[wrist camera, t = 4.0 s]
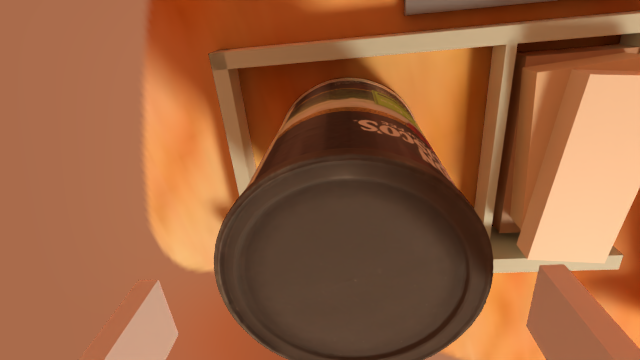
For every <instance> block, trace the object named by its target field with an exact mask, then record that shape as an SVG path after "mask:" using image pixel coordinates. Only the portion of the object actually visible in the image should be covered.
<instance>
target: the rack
mask: <svg viewBox="0 0 640 360" xmlns="http://www.w3.org/2000/svg"><path fill="white" fill-rule="evenodd" d="M619 34H622V35H621V39H620V42H619V44H614V45H602V46H591V47H579V48H568V49H556V50H544V51H533V52H521V53H516V51H517V44H518V43H529V42H540V41H552V40H563V39H574V38H585V37H597V36H608V35H619ZM484 46H493V49H492V58H491V66H490V75H489V84H488V93H487V102H486V110H485V119H484V128H483V137H482V146H481V154H480V163H479V172H478V181H477V190H476V198H475V207H474V210H475V211H476V213H477V215H478V216H479V218H480V219H481V221H482V222H483V224H484V226H485V228H486V231H487V233H488V236H489V239H490V242H491V245H492V252H493V273H509V272H538V270H539V266H540V265H557V264H564V265H565V266H566V267H567V268H568V269H569V270H570V271H578V270H613V269H619V267H620V264H621V261H622V258H623V254H622V253H620V252H619V251H618V250H617V249H616V248H615V247H614V246H613V244H614V242H615V240H616V238H617V235H618V233H619V231H620V229H621V227H622V225H623V222H624V220H625V218H626V216H627V214H628V212H629V210H630V207H631V205H632V203H633V201H634V199H635V197H636V195H637V192H638V190H639V188H640V11H629V12H618V13H608V14H597V15H587V16H576V17H565V18H555V19H544V20H534V21H523V22H512V23H502V24H491V25H481V26H470V27H459V28H449V29H438V30H427V31H417V32H406V33H396V34H385V35H374V36H364V37H353V38H343V39H332V40H321V41H311V42H300V43H290V44H279V45H268V46H258V47H247V48H237V49H226V50H218V51H215V52H212V53H209V59H210V63H211V68H212V73H213V77H214V82H215V86H216V91H217V96H218V100H219V105H220V109H221V114H222V119H223V123H224V128H225V132H226V137H227V142H228V146H229V151H230V155H231V160H232V165H233V169H234V174H235V178H236V183H237V188H238V192H239V196H240V195H241V194H242V193H243V192H244V190H245V189H246V187H247V186H248V184H249V182H250V180H251V179H252V177H253V175H254V173H255V171H256V166H255V160H254V155H253V150H252V144H251V139H250V134H249V128H248V123H247V118H246V112H245V107H244V102H243V96H242V91H241V86H240V80H239V75H238V70H237V68H247V67H258V66H270V65H281V64H292V63H303V62H315V61H326V60H337V59H349V58H360V57H371V56H382V55H394V54H405V53H416V52H428V51H439V50H450V49H461V48H473V47H484ZM492 223H493V225H494V226H492Z"/></svg>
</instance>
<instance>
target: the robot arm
mask: <svg viewBox="0 0 640 360" xmlns="http://www.w3.org/2000/svg"><path fill="white" fill-rule="evenodd" d="M526 326H527V328H528V329H529V331H530V333H531V335H532V336H533V338H534V340H535V341H536V343H537V345H538V346H539V348H540V350H541V351H542V353H543V355H544V356H545V358H546V360H640V349H639V348H638V347H637V346H636V344H635V343H634V342H633V341H632V340H631V339H630V338H629V337H628V335H627V334H626V333H625V332H624V331H623V330H622V329H621V328H620V326H619V325H618V324H617V323H616V322H615V321H614V320H613V319H612V317H611V316H610V315H609V314H608V313H607V312H606V311H605V310H604V308H603V307H602V306H601V305H600V304H599V303H598V302H597V301H596V299H595V298H594V297H593V296H592V295H591V294H590V293H589V292H588V290H587V289H586V288H585V287H584V286H583V285H582V284H581V283H580V281H579V280H578V279H577V278H576V277H575V276H574V275H573V274H572V272H571V271H570V270H569V269H568V268H567V267H566V266H565V265H564V264H557V265H540V266H539V270H538V275H537V279H536V284H535V289H534V293H533V298H532V302H531V307H530V311H529V316H528V320H527V325H526ZM177 336H178V331H177V328H176V326H175V323H174V320H173V318H172V315H171V312H170V310H169V307H168V304H167V301H166V299H165V296H164V293H163V291H162V288H161V285H160V282H159V280H138V281H137V283H136V284H135V285H134V287H133V288H132V290H131V291H130V292H129V294H128V295H127V296H126V297H125V299H124V300H123V301H122V303H121V304H120V305H119V307H118V308H117V309H116V311H115V312H114V314H113V315H112V316H111V318H110V319H109V320H108V321H107V323H106V324H105V325H104V327H103V328H102V329H101V331H100V332H99V333H98V335H97V336H96V337H95V339H94V340H93V341H92V343H91V344H90V345H89V347H88V348H87V349H86V351H85V352H84V353H83V355H82V356H81V357H80V359H79V360H166V358H167V356H168V354H169V352H170V350H171V348H172V346H173V344H174V342H175V340H176V338H177Z"/></svg>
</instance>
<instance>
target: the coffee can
mask: <svg viewBox="0 0 640 360" xmlns="http://www.w3.org/2000/svg"><path fill="white" fill-rule="evenodd" d="M214 271H215V277H216V282H217V286H218V289H219V292H220V294H221V297H222V298H223V301H224V303H225V305H226V307H227V308H228V310H229V312H230V313H231V314H232V316H233V318H234V319H235V320H236V321H237V323H238V324H239V325H240V326H241V327H242V328H243V329H244V330H245V331H246V332H247V333H248V334H249V335H250V336H251V337H253V338H254V339H255V340H256V341H257V342H259V343H260V344H261V345H263V346H264V347H266V348H267V349H269V350H270V351H272V352H274V353H276V354H277V355H279V356H281V357H284V358H286V359H288V360H424V359H426V358H428V357H431V356H432V355H434V354H436V353H438V352H439V351H441V350H443V349H444V348H446V347H447V346H448V345H450V344H451V343H452V342H454V341H455V340H456V339H458V338H459V337H460V336H461V335H462V334H463V333H464V332H465V331H466V330H467V329H468V328H469V327H470V326H471V325H472V324H473V322H474V321H475V319H476V318H477V317H478V315H479V314H480V312H481V311H482V309H483V307H484V304H485V303H486V299H487V297H488V294H489V292H490V288H491V284H492V277H493V252H492V245H491V242H490V239H489V236H488V233H487V231H486V228H485V226H484V224H483V222H482V221H481V219H480V218H479V216H478V215H477V213H476V211H475V210H474V208H473V207H472V205H471V204H470V203H469V202H468V200H467V199H466V198H465V197H464V195H463V194H462V193H461V192H460V191H459V190H458V189H457V188H456V186H455V185H454V183H453V181H452V180H451V178H450V177H449V175H448V173H447V171H446V170H445V168H444V167H443V165H442V164H441V162H440V161H439V159H438V157H437V156H436V154H435V152H434V151H433V149H432V148H431V146H430V144H429V143H428V141H427V140H426V138H425V136H424V135H423V133H422V132H421V130H420V128H419V127H418V125H417V123H416V121H415V119H414V116H413V114H412V113H411V111H410V109H409V108H408V106H407V105H406V104H405V102H404V101H403V100H402V99H401V98H400V97H399V96H398V95H397V94H395V93H394V92H393V91H392V90H390V89H388V88H387V87H385V86H383V85H381V84H378V83H376V82H373V81H370V80H366V79H360V78H339V79H334V80H330V81H326V82H324V83H321V84H319V85H317V86H315V87H313V88H311V89H310V90H308V91H307V92H306V93H304V94H303V95H302V96H301V97H300V98H299V99H297V100H296V101H295V102H294V104H293V105H292V106H291V108H290V109H289V111H288V113H287V114H286V116H285V118H284V121H283V123H282V126H281V127H280V129H279V131H278V133H277V134H276V136H275V138H274V140H273V141H272V143H271V145H270V146H269V148H268V150H267V152H266V154H265V155H264V157H263V159H262V161H261V163H260V164H259V166H258V168H257V170H256V171H255V173H254V175H253V177H252V179H251V180H250V182H249V184H248V186H247V187H246V189H245V190H244V192H243V193H242V194H241V195H240V196H239V198H238V199H237V200H236V202H235V203H234V205H233V206H232V208H231V209H230V211H229V212H228V214H227V215H226V217H225V219H224V221H223V223H222V225H221V228H220V231H219V233H218V237H217V240H216V244H215V253H214Z"/></svg>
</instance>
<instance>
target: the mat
mask: <svg viewBox="0 0 640 360" xmlns="http://www.w3.org/2000/svg"><path fill="white" fill-rule="evenodd" d="M546 1H556V0H404V15H414V14H424V13H434V12H444V11H455V10H465V9H475V8H485V7H495V6H505V5H515V4H525V3H535V2H546Z"/></svg>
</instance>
